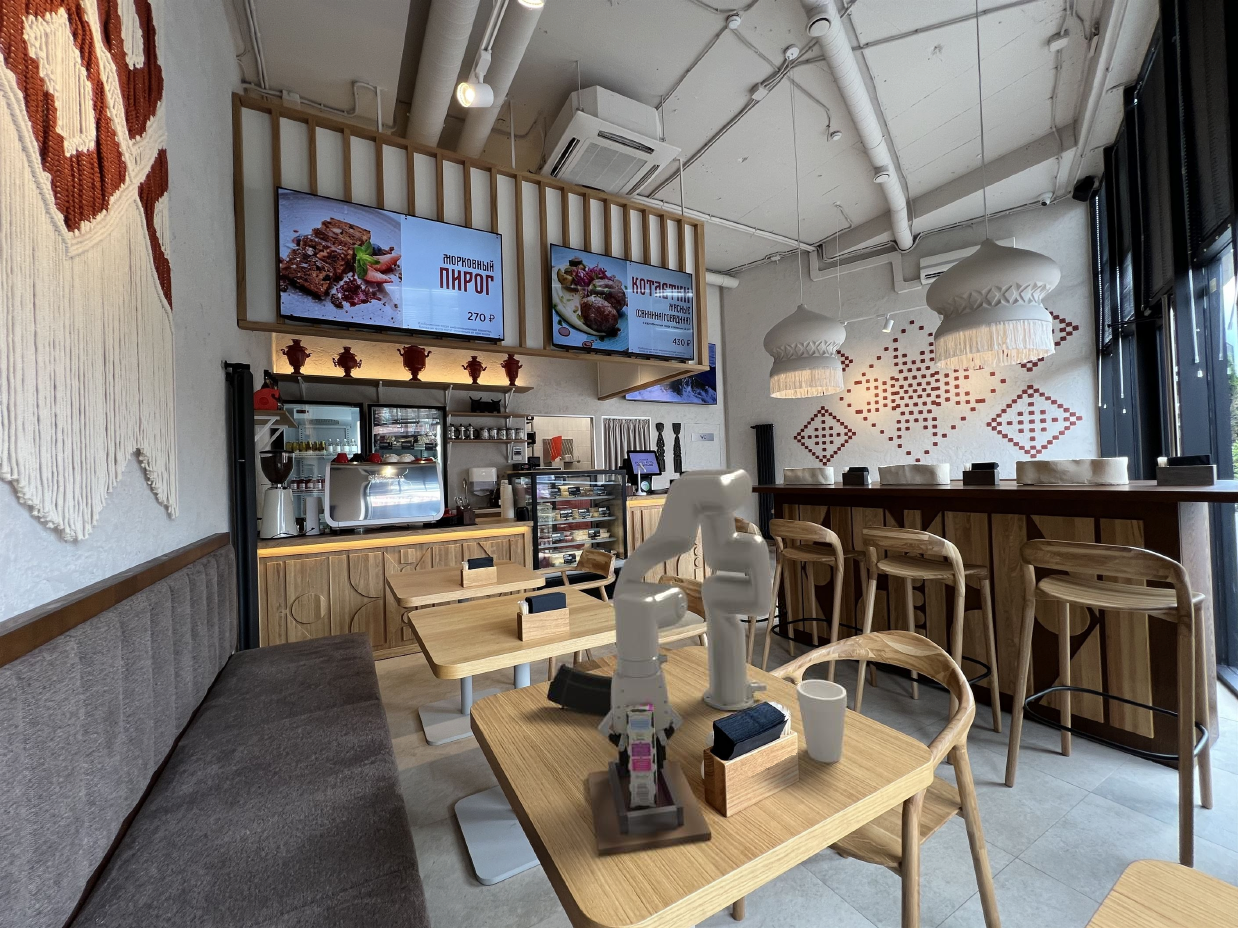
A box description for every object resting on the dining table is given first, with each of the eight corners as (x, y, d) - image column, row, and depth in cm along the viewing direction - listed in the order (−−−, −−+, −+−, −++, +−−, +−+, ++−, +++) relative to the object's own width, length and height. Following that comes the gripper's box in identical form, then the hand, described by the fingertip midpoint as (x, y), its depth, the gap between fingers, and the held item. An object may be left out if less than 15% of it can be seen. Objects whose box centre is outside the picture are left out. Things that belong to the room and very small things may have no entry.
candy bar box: (659, 808, 84) (654, 710, 84) (629, 809, 84) (624, 711, 84) (656, 768, 95) (651, 681, 95) (630, 769, 95) (625, 682, 95)
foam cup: (792, 743, 106) (789, 681, 106) (833, 739, 107) (830, 677, 107) (813, 769, 97) (810, 701, 97) (859, 764, 98) (855, 697, 98)
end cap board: (678, 766, 99) (677, 745, 99) (711, 838, 80) (710, 813, 80) (587, 778, 97) (586, 757, 97) (598, 855, 77) (597, 829, 77)
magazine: (677, 681, 118) (565, 636, 128) (674, 687, 115) (559, 640, 125) (659, 748, 119) (550, 698, 129) (655, 756, 116) (544, 704, 126)
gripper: (679, 651, 94) (683, 749, 93) (588, 660, 91) (592, 761, 91) (691, 667, 86) (696, 773, 86) (592, 677, 84) (596, 786, 83)
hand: (642, 765), depth 88 cm, fingers closed on candy bar box, 5 cm apart
